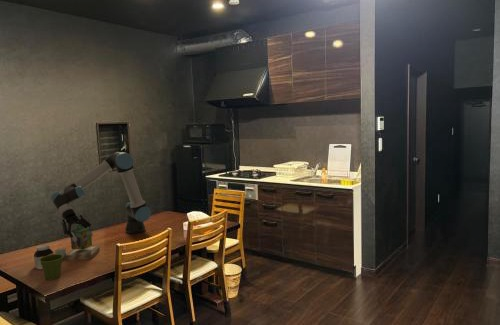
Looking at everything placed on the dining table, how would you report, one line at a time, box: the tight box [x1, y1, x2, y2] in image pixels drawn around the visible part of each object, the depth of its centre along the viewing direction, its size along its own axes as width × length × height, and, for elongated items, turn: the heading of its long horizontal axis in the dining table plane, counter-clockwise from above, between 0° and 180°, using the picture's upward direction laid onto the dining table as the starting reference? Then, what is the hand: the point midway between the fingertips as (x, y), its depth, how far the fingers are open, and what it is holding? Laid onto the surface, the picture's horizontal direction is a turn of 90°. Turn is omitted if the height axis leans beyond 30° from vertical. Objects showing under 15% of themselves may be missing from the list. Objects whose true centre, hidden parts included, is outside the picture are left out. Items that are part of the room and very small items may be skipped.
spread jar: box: [33, 244, 54, 270], centre depth 225 cm, size 12×11×12 cm
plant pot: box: [39, 253, 63, 281], centre depth 207 cm, size 12×12×11 cm
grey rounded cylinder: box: [54, 247, 67, 261], centre depth 238 cm, size 6×6×6 cm
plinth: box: [64, 245, 100, 261], centre depth 243 cm, size 16×16×3 cm
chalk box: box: [70, 224, 93, 250], centre depth 242 cm, size 9×9×15 cm
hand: (84, 238), depth 240 cm, fingers closed on chalk box, 11 cm apart
